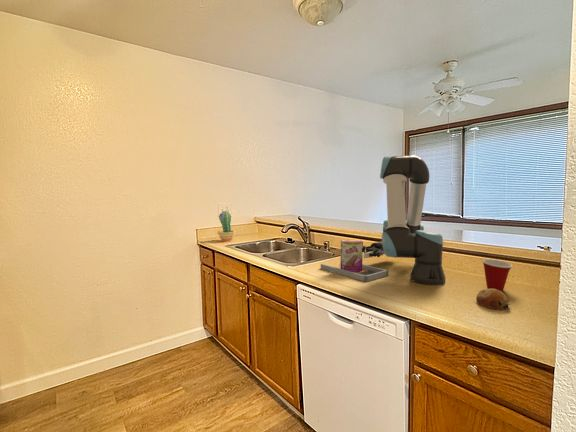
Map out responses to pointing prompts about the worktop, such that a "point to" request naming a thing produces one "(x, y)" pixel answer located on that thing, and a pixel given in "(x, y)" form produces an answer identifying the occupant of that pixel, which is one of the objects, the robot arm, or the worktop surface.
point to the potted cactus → (226, 227)
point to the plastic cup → (496, 273)
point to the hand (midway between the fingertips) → (354, 253)
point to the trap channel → (365, 275)
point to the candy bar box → (351, 255)
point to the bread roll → (492, 299)
